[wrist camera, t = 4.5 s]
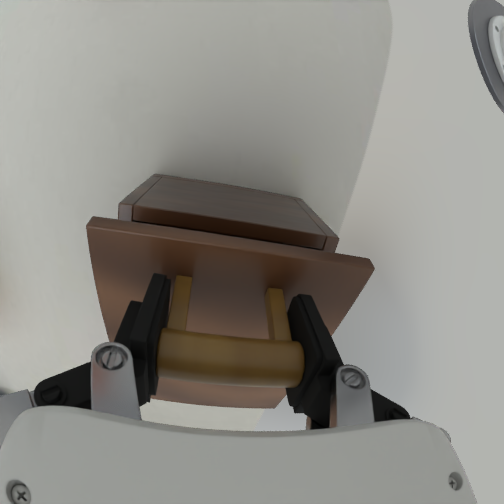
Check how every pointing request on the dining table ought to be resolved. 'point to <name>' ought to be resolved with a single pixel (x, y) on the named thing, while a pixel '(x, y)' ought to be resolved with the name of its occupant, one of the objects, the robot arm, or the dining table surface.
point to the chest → (227, 212)
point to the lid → (221, 306)
